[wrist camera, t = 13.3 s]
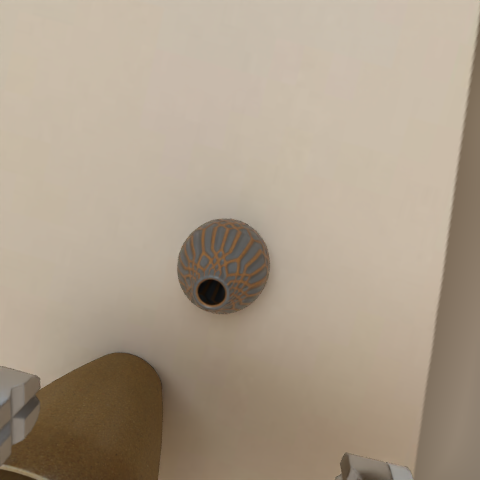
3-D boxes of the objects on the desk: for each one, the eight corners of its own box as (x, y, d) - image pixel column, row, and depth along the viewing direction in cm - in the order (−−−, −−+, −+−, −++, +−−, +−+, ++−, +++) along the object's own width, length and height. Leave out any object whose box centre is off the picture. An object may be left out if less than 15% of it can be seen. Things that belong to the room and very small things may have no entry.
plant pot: (33, 332, 37) (-148, 475, 21) (173, 306, 34) (81, 449, 19) (85, 452, 40) (-38, 648, 25) (216, 438, 38) (167, 647, 22)
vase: (193, 206, 31) (158, 234, 23) (275, 215, 30) (271, 247, 22) (189, 282, 33) (156, 334, 25) (267, 292, 32) (260, 348, 24)
